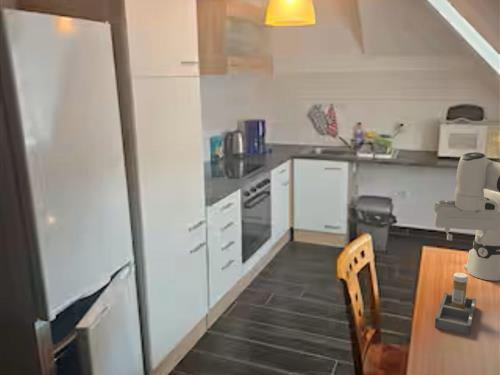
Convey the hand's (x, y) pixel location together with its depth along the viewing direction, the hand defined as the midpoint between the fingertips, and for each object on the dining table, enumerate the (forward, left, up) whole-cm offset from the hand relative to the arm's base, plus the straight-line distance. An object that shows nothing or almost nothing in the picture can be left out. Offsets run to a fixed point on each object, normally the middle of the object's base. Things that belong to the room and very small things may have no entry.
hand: (464, 240), depth 160 cm
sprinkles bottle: (0, 0, -26) cm, 26 cm away
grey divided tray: (+5, +2, -26) cm, 26 cm away
